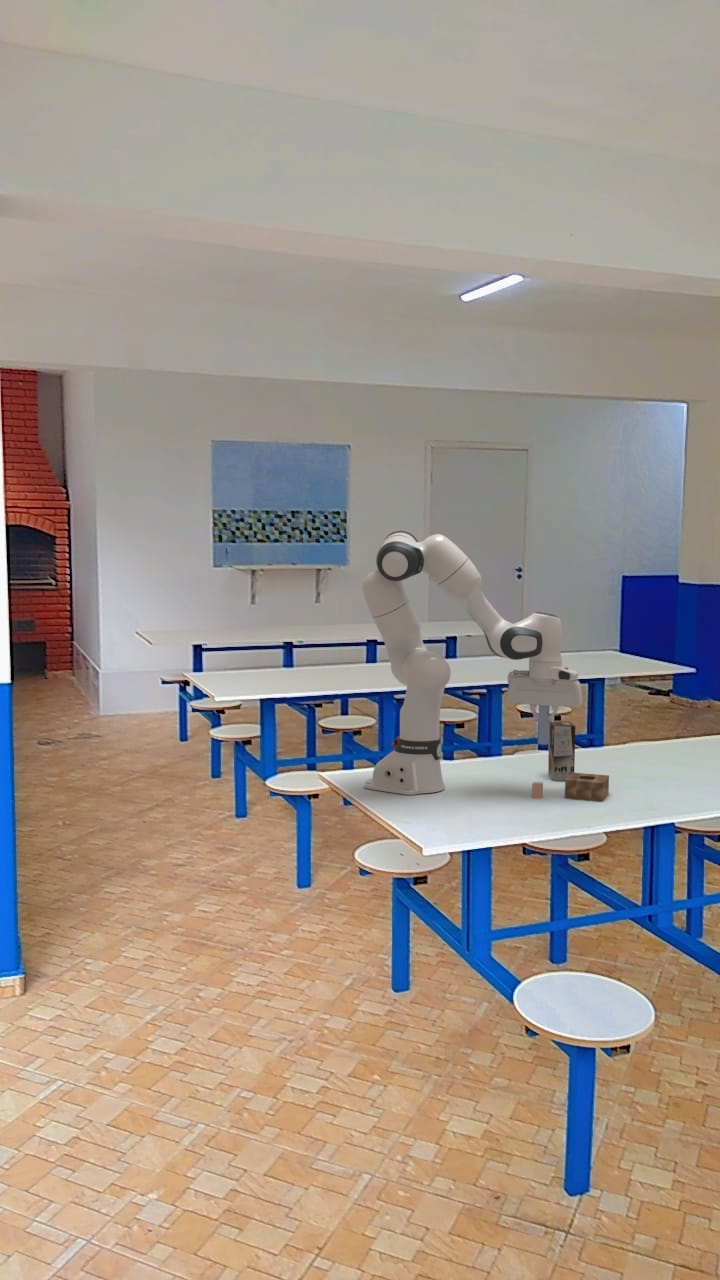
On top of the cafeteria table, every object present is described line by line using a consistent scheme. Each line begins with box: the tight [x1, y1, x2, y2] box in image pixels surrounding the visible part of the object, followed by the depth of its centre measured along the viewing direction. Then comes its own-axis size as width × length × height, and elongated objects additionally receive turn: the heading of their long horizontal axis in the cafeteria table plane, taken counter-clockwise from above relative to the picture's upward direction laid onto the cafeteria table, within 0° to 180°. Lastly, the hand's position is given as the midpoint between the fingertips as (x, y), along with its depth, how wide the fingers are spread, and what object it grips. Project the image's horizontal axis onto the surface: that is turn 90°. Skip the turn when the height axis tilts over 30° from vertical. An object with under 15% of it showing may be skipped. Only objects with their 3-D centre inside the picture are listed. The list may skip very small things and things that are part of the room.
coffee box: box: [547, 721, 576, 782], centre depth 295 cm, size 9×6×16 cm
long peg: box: [537, 705, 550, 746], centre depth 276 cm, size 2×2×12 cm
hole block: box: [564, 772, 610, 803], centre depth 273 cm, size 10×10×5 cm
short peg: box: [531, 781, 544, 800], centre depth 271 cm, size 2×2×4 cm
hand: (543, 721), depth 276 cm, fingers closed on long peg, 2 cm apart
